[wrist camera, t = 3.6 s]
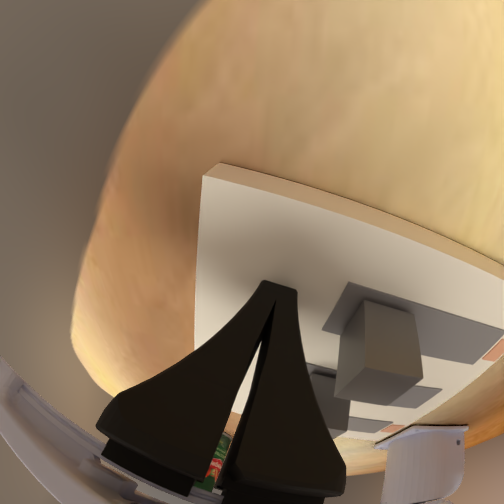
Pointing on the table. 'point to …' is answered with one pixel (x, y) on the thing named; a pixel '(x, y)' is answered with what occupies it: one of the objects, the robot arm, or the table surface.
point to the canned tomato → (215, 464)
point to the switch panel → (346, 284)
